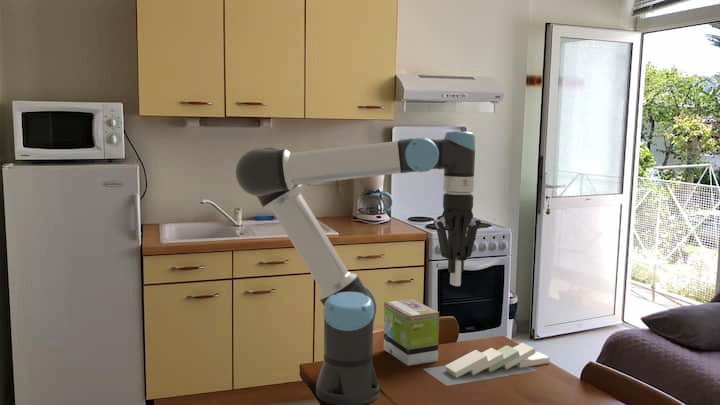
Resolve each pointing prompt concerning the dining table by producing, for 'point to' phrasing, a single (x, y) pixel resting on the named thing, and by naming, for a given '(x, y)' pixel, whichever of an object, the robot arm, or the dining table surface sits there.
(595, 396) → the dining table surface
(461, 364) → the domino
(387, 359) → the dining table surface
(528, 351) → the domino
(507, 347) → the sage domino
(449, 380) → the slate mat
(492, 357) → the domino
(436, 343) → the tea box
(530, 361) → the domino
